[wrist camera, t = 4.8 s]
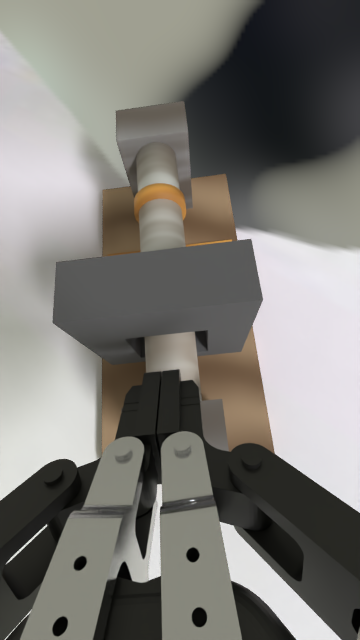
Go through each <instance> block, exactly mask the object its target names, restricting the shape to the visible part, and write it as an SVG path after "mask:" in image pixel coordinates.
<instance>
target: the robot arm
mask: <svg viewBox="0 0 360 640" xmlns="http://www.w3.org/2000/svg"><path fill="white" fill-rule="evenodd" d="M157 484H162V506H161V507H160V548H161V576H160V577H157V578H155V579H152V580H150V581H149V577H148V568H149V559H150V552H151V545H152V538H153V531H154V524H155V517H156V510H157V501H156V494H157ZM219 521H220V522H223V523H227V524H230V525H234V527H235V529H236V531H237V532H238V533H239V535H240V536H241V537H242V538H243V539H244V540H245V541H246V542H247V543H248V544H249V545H250V546H251V547H252V548H253V549H254V550H255V551H256V552H257V553H258V554H259V555H260V556H261V557H262V558H263V559H264V560H265V561H266V562H267V563H268V564H269V565H270V567H271V568H272V569H273V570H274V571H275V572H276V573H277V574H278V575H279V576H280V577H281V578H282V579H283V580H284V581H285V582H286V583H287V584H288V585H289V586H290V587H291V588H292V589H293V590H294V591H295V592H296V593H297V594H298V595H299V596H300V597H301V598H302V599H303V600H304V601H305V602H306V604H307V605H308V606H309V607H310V608H311V609H312V610H313V611H314V612H315V613H316V614H317V615H318V616H319V617H320V618H321V619H322V620H323V621H324V622H325V623H326V624H327V625H328V626H329V627H330V628H331V629H332V630H333V631H334V632H335V633H336V634H337V635H338V636H339V637H340V638H341V639H342V640H360V513H359V512H357V511H356V510H355V509H353V508H352V507H350V506H349V505H347V504H346V503H344V502H343V501H342V500H340V499H339V498H337V497H336V496H334V495H333V494H332V493H330V492H329V491H327V490H326V489H324V488H323V487H321V486H320V485H319V484H317V483H316V482H314V481H313V480H311V479H310V478H308V477H307V476H306V475H304V474H303V473H301V472H300V471H298V470H297V469H296V468H294V467H293V466H291V465H290V464H288V463H287V462H285V461H284V460H283V459H281V458H280V457H278V456H277V455H275V454H274V453H272V452H271V451H270V450H268V449H267V448H265V447H263V446H261V445H259V444H255V443H244V444H240V445H238V446H236V447H235V448H234V449H232V451H231V452H229V451H224V450H220V449H217V448H215V447H213V446H211V445H210V444H209V443H208V442H207V441H206V440H205V438H204V433H203V422H202V413H201V404H200V395H199V387H198V386H197V385H196V383H195V382H194V381H193V380H186V381H181V374H180V369H176V370H166V371H157V372H147V373H144V375H143V381H142V385H137V386H132V387H131V389H130V390H129V391H128V392H127V394H126V396H125V400H124V405H123V408H122V413H121V416H120V420H119V425H118V429H117V433H116V437H115V440H114V441H113V442H111V443H110V444H109V445H108V446H107V447H106V448H105V450H104V452H103V454H102V457H101V458H100V459H98V460H96V461H94V462H91V463H88V464H86V465H83V466H80V467H78V468H77V467H76V465H75V463H74V462H73V461H71V460H68V459H59V460H55V461H53V462H50V463H48V464H47V465H45V466H44V467H42V468H41V469H40V470H39V471H37V472H36V473H35V474H34V475H32V476H31V477H30V478H28V479H27V480H26V481H25V482H23V483H22V484H21V485H20V486H18V487H17V488H16V489H15V490H13V491H12V492H11V493H10V494H8V495H7V496H6V497H5V498H3V499H2V500H1V501H0V640H4V639H5V638H6V637H7V636H8V635H9V634H10V633H11V631H12V630H13V629H14V628H15V627H16V626H17V625H18V624H19V623H20V622H21V620H22V619H23V618H24V617H25V616H26V615H27V614H28V613H29V612H30V610H31V609H32V610H31V613H30V614H29V615H28V616H27V617H26V618H25V619H24V620H23V621H22V622H21V623H20V624H19V625H18V626H17V627H16V628H15V630H14V631H13V632H12V633H11V634H10V635H9V637H8V638H7V639H6V640H296V639H295V638H294V636H293V635H292V634H291V633H290V631H289V630H288V629H287V628H286V627H285V625H284V624H283V623H282V622H281V621H280V619H279V618H278V617H277V616H276V614H275V613H274V612H273V611H272V610H271V609H270V607H269V606H268V605H267V604H266V603H265V602H264V601H262V600H261V599H260V598H259V597H258V596H257V595H256V594H254V593H253V592H252V591H250V590H249V589H247V588H245V587H244V586H242V585H240V584H238V583H235V582H233V581H231V579H230V574H229V569H228V564H227V559H226V553H225V548H224V543H223V538H222V533H221V527H220V522H219ZM46 524H47V527H46V528H45V529H44V530H43V531H42V532H41V533H40V534H39V535H38V536H36V537H35V538H34V539H33V540H32V541H31V542H30V543H29V544H28V545H27V546H26V547H25V548H24V549H23V550H22V551H21V552H20V553H19V554H17V555H16V556H15V557H14V558H13V559H12V560H11V561H10V562H9V563H7V561H8V560H9V559H10V558H11V557H12V556H13V555H14V554H15V553H16V552H17V551H18V550H19V549H20V548H21V547H23V546H24V545H25V544H26V543H27V542H28V541H29V540H30V539H31V538H32V537H33V536H34V535H35V534H36V533H37V532H38V531H40V530H41V529H42V528H43V527H44V526H45V525H46ZM6 563H7V564H6ZM5 564H6V565H5Z"/></svg>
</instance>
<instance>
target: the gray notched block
mask: <svg viewBox="0 0 360 640" xmlns="http://www.w3.org/2000/svg"><path fill="white" fill-rule="evenodd" d="M262 301H263V297H262V292H261V287H260V282H259V277H258V272H257V267H256V261H255V256H254V251H253V246H252V241H251V239H247V240H238V241H230V242H222V243H213V244H205V245H197V246H188V247H180V248H172V249H163V250H155V251H147V252H138V253H130V254H121V255H113V256H105V257H96V258H88V259H80V260H71V261H63V262H56V277H55V293H54V309H53V323H54V324H55V325H56V326H58V327H59V328H61V329H62V330H63V331H65V332H66V333H68V334H69V335H70V336H72V337H73V338H75V339H76V340H78V341H79V342H80V343H82V344H83V345H85V346H86V347H87V348H89V349H90V350H92V351H93V352H95V353H96V354H97V355H99V356H100V357H102V358H103V359H104V360H106V361H107V362H109V363H110V364H112V365H117V364H127V363H137V362H146V358H145V337H148V336H157V335H166V334H176V333H185V332H195V340H196V349H197V356H205V355H215V354H225V353H235V352H241V351H242V349H243V346H244V344H245V341H246V339H247V337H248V334H249V332H250V330H251V327H252V325H253V322H254V320H255V318H256V315H257V313H258V310H259V308H260V306H261V303H262Z"/></svg>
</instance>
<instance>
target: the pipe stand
mask: <svg viewBox="0 0 360 640" xmlns="http://www.w3.org/2000/svg"><path fill="white" fill-rule="evenodd" d="M116 140H117V145H118V147H119V151H120V154H121V157H122V160H123V164H124V167H125V170H126V173H127V177H128V180H129V183H130V186H129V187H122V188H114V189H106V190H103V257H105V256H113V255H121V254H130V253H138V252H147V251H155V250H163V249H172V248H180V247H188V246H197V245H205V244H213V243H222V242H230V241H237V236H236V230H235V224H234V219H233V213H232V207H231V201H230V196H229V190H228V184H227V179H226V174H221V175H213V176H206V177H198V178H191V171H190V157H189V141H188V128H187V120H186V113H185V105H184V101H181V102H174V103H167V104H160V105H153V106H146V107H139V108H132V109H125V110H118V111H116ZM145 358H146V362H137V363H127V364H117V365H112V364H110V363H109V362H107V361H106V360H104V359H103V358H102V454H103V452H104V450H105V448H106V447H107V446H108V445H109V444H110V443H111V442H113V441H114V440H115V437H116V433H117V429H118V425H119V420H120V416H121V413H122V408H123V405H124V400H125V396H126V394H127V392H128V391H129V390H130V389H131V387H132V386H137V385H142V381H143V375H144V373H147V372H157V371H166V370H176V369H180V374H181V381H186V380H193V381H194V382H195V383H196V385H197V386H198V387H199V395H200V404H201V413H202V422H203V433H204V438H205V440H206V441H207V442H208V443H209V444H210V445H211V446H213V447H215V448H217V449H220V450H224V451H229V452H231V451H232V449H234V448H235V447H236V446H238V445H240V444H244V443H255V444H259V445H261V446H263V447H265V448H267V449H268V450H270V451H271V452H272V453H274V447H273V441H272V435H271V430H270V424H269V418H268V413H267V407H266V401H265V396H264V390H263V384H262V378H261V373H260V367H259V361H258V356H257V350H256V344H255V338H254V333H253V327H251V330H250V332H249V334H248V337H247V339H246V341H245V344H244V346H243V349H242V351H241V352H235V353H225V354H215V355H205V356H197V349H196V340H195V332H185V333H176V334H166V335H157V336H148V337H145ZM274 454H275V453H274Z"/></svg>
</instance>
